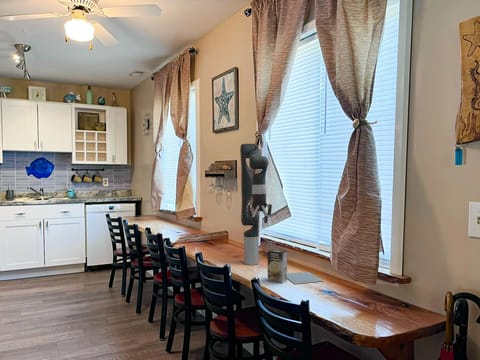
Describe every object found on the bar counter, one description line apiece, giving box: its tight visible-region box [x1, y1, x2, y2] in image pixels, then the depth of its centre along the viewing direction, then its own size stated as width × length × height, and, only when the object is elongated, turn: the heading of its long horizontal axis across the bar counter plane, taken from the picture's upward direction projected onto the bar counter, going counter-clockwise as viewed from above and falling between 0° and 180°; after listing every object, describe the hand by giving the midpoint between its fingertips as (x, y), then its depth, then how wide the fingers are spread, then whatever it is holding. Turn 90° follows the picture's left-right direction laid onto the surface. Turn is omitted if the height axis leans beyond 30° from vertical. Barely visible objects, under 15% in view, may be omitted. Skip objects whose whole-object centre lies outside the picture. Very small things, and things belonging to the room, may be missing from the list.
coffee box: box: [267, 248, 288, 284], centre depth 193 cm, size 9×6×16 cm
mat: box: [287, 271, 324, 285], centre depth 197 cm, size 18×16×1 cm
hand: (259, 223), depth 198 cm, fingers open, 6 cm apart
